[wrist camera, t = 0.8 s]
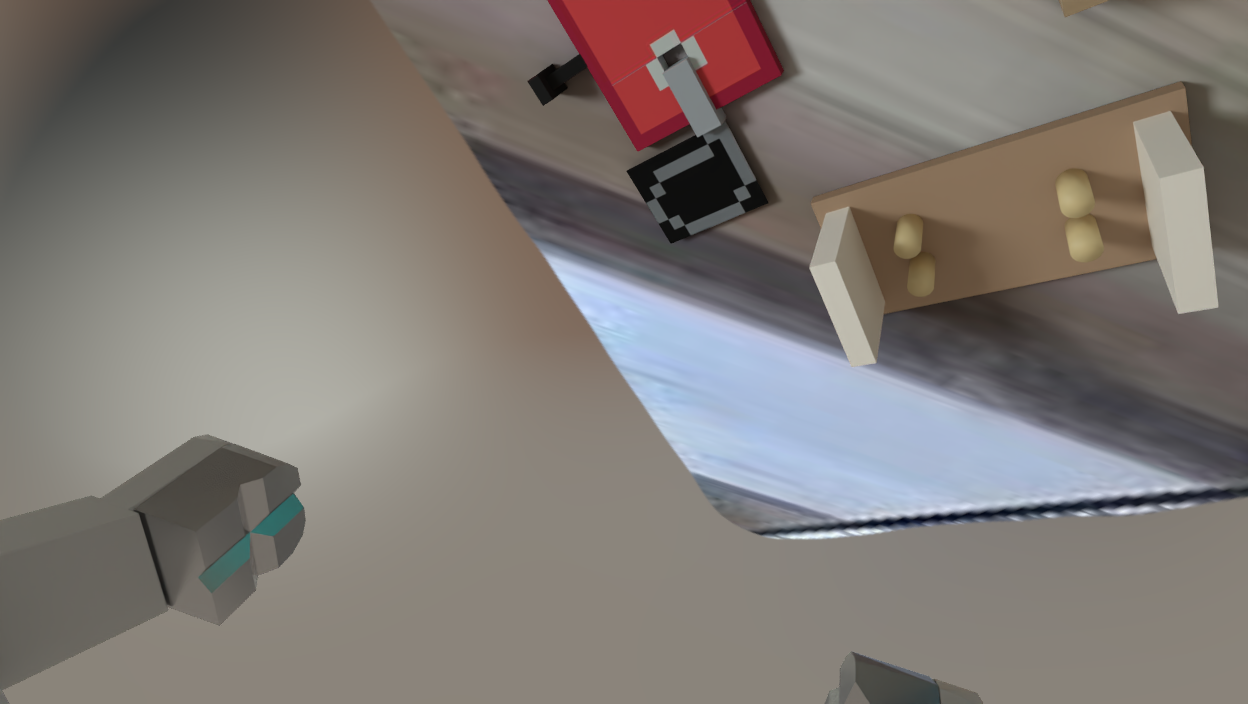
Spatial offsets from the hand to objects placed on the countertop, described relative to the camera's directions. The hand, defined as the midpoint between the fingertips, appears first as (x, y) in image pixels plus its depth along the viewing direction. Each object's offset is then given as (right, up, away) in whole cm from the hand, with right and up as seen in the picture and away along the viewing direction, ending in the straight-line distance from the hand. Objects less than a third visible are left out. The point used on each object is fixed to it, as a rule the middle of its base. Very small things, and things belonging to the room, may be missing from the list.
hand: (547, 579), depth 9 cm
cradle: (+25, +12, +34) cm, 43 cm away
